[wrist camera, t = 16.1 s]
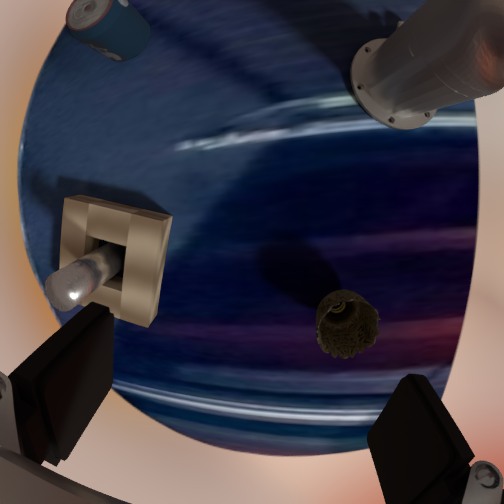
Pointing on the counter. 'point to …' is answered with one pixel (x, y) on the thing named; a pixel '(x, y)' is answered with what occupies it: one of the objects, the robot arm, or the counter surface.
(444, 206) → the counter surface
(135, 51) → the soda can
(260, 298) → the counter surface
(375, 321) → the brown bumpy hollow part
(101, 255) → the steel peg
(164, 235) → the square wooden frame
